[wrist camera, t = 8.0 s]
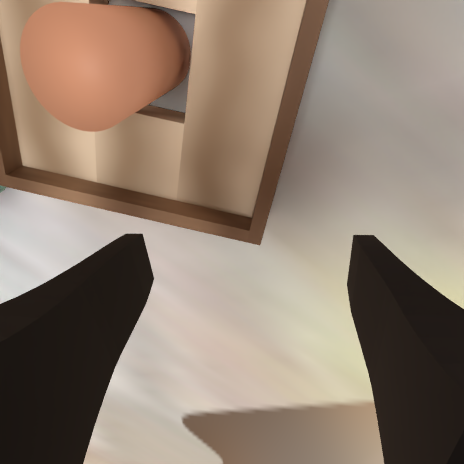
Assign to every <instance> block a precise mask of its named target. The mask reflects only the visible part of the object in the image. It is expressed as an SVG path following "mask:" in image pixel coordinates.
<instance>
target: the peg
mask: <svg viewBox="0 0 464 464" xmlns="http://www.w3.org/2000/svg"><path fill="white" fill-rule="evenodd" d="M20 58H21V64H22V68H23V72H24V75H25V78H26V80H27V83H28V85H29V87H30V89H31V90H32V92H33V94H34V95H35V97H36V98H37V100H38V101H39V102H40V104H41V105H42V106H43V107H44V108H45V109H46V110H47V111H48V112H49V113H50V114H51V115H52V116H54V117H55V118H56V119H57V120H59V121H61V122H62V123H64V124H66V125H68V126H70V127H72V128H75V129H78V130H82V131H88V132H98V131H103V130H106V129H109V128H111V127H113V126H115V125H116V124H118V123H120V122H121V121H123V120H124V119H126V118H128V117H129V116H131V115H132V114H134V113H135V112H137V111H139V110H140V109H142V108H143V107H145V106H147V105H148V104H150V103H151V102H153V101H154V100H156V99H158V98H159V97H161V96H162V95H164V94H166V93H167V92H169V91H170V90H172V89H173V88H175V87H176V86H178V85H179V84H180V83H181V82H182V81H183V79H184V78H185V76H186V74H187V72H188V70H189V66H190V60H191V51H190V45H189V41H188V38H187V35H186V33H185V31H184V30H183V28H182V26H181V25H180V24H179V23H178V21H177V20H176V19H175V18H174V17H172V16H171V15H170V14H168V13H166V12H165V11H162V10H160V9H156V8H145V7H131V6H116V5H102V4H87V3H73V2H54V3H50V4H47V5H44V6H42V7H41V8H39V9H38V10H36V11H35V12H34V13H33V14H32V15H31V16H30V18H29V19H28V21H27V22H26V24H25V26H24V29H23V32H22V36H21V41H20Z"/></svg>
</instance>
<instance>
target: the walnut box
mask: <svg viewBox="0 0 464 464" xmlns="http://www.w3.org/2000/svg"><path fill="white" fill-rule="evenodd" d="M134 1H139V2H143V3H148V4H152V5H157V6H161V7H166V8H170V9H175V10H179V11H184V12H189V13H193V14H196V15H195V25H194V35H193V44H192V54H191V64H190V74H189V83H188V93H187V103H186V112H185V113H182V112H177V111H173V110H168V109H164V108H159V107H155V106H151V105H147V106H145V107H143V108H142V109H140V110H139V111H137V112H135V113H134V114H132V115H131V116H129V117H128V118H126V119H124V120H123V121H121V122H120V123H118V124H116V125H115V126H113V127H111V128H109V129H106V130H103V131H98V132H88V131H82V130H78V129H75V128H72V127H70V126H68V125H66V124H64V123H62V122H61V121H59V120H57V119H56V118H55V117H54V116H52V115H51V114H50V113H49V112H48V111H47V110H46V109H45V108H44V107H43V106H42V105H41V104H40V102H39V101H38V100H37V98H36V97H35V95H34V94H33V92H32V90H31V89H30V87H29V85H28V83H27V80H26V78H25V75H24V72H23V68H22V64H21V58H20V41H21V36H22V32H23V29H24V26H25V24H26V22H27V21H28V19H29V18H30V16H31V15H32V14H33V13H34V12H35V11H36V10H38V9H39V8H41V7H42V6H44V5H47V4H50V3H54V2H73V3H87V4H102V5H108V0H0V186H5V187H9V188H13V189H18V190H22V191H26V192H31V193H35V194H39V195H44V196H48V197H52V198H57V199H61V200H65V201H70V202H74V203H78V204H83V205H87V206H91V207H96V208H100V209H105V210H109V211H113V212H118V213H122V214H126V215H131V216H135V217H139V218H144V219H148V220H152V221H157V222H161V223H165V224H170V225H174V226H178V227H183V228H187V229H191V230H196V231H200V232H205V233H209V234H213V235H218V236H222V237H226V238H231V239H235V240H239V241H244V242H248V243H252V244H257V245H260V244H261V240H262V236H263V233H264V229H265V226H266V222H267V219H268V215H269V212H270V208H271V205H272V201H273V197H274V194H275V190H276V187H277V183H278V180H279V176H280V173H281V169H282V166H283V162H284V158H285V155H286V151H287V148H288V144H289V141H290V137H291V134H292V130H293V127H294V123H295V119H296V116H297V112H298V109H299V105H300V102H301V98H302V95H303V91H304V88H305V84H306V80H307V77H308V73H309V70H310V66H311V63H312V59H313V56H314V52H315V49H316V45H317V41H318V38H319V34H320V31H321V27H322V24H323V20H324V17H325V13H326V9H327V6H328V2H329V0H134Z"/></svg>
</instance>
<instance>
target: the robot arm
mask: <svg viewBox="0 0 464 464" xmlns="http://www.w3.org/2000/svg"><path fill="white" fill-rule="evenodd" d="M153 280H154V277H153V273H152V269H151V265H150V261H149V257H148V253H147V249H146V246H145V242H144V238H143V234H125V235H123V236H121V237H119V238H118V239H116V240H114V241H113V242H111V243H109V244H108V245H106V246H105V247H103V248H102V249H100V250H99V251H97V252H95V253H94V254H92V255H91V256H89V257H88V258H86V259H84V260H83V261H81V262H80V263H78V264H76V265H75V266H73V267H71V268H70V269H68V270H66V271H65V272H63V273H61V274H60V275H58V276H56V277H54V278H53V279H51V280H49V281H47V282H46V283H44V284H42V285H40V286H38V287H36V288H34V289H32V290H30V291H28V292H26V293H24V294H22V295H20V296H18V297H16V298H13V299H11V300H9V301H6V302H4V303H2V304H0V464H83V462H84V458H85V455H86V452H87V449H88V445H89V442H90V439H91V436H92V432H93V429H94V426H95V423H96V420H97V417H98V414H99V411H100V408H101V405H102V402H103V399H104V396H105V393H106V390H107V388H108V385H109V382H110V380H111V377H112V374H113V372H114V369H115V366H116V364H117V362H118V360H119V357H120V355H121V353H122V351H123V349H124V347H125V345H126V343H127V341H128V339H129V337H130V335H131V333H132V331H133V329H134V327H135V325H136V323H137V321H138V319H139V317H140V315H141V313H142V311H143V309H144V307H145V304H146V302H147V299H148V296H149V293H150V290H151V287H152V284H153ZM347 287H348V294H349V301H350V308H351V313H352V317H353V320H354V324H355V327H356V331H357V334H358V338H359V341H360V345H361V348H362V352H363V355H364V359H365V362H366V366H367V369H368V373H369V377H370V382H371V386H372V391H373V397H374V402H375V408H376V414H377V419H378V426H379V432H380V438H381V444H382V451H383V457H384V464H464V309H463V308H461V307H460V306H458V305H457V304H455V303H454V302H452V301H451V300H449V299H448V298H446V297H445V296H444V295H442V294H441V293H440V292H438V291H437V290H436V289H434V288H433V287H432V286H430V285H429V284H428V283H427V282H425V281H424V280H423V279H422V278H420V277H419V276H418V275H417V274H416V273H414V272H413V271H412V270H411V269H410V268H409V267H407V266H406V265H405V264H404V263H403V262H402V261H401V260H400V259H398V258H397V257H396V256H395V255H394V254H393V253H392V252H391V251H390V250H389V249H388V248H387V247H386V246H385V245H384V244H382V243H381V242H380V241H379V240H378V239H377V238H376V237H375V236H374V235H353V243H352V250H351V258H350V266H349V273H348V281H347Z"/></svg>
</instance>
